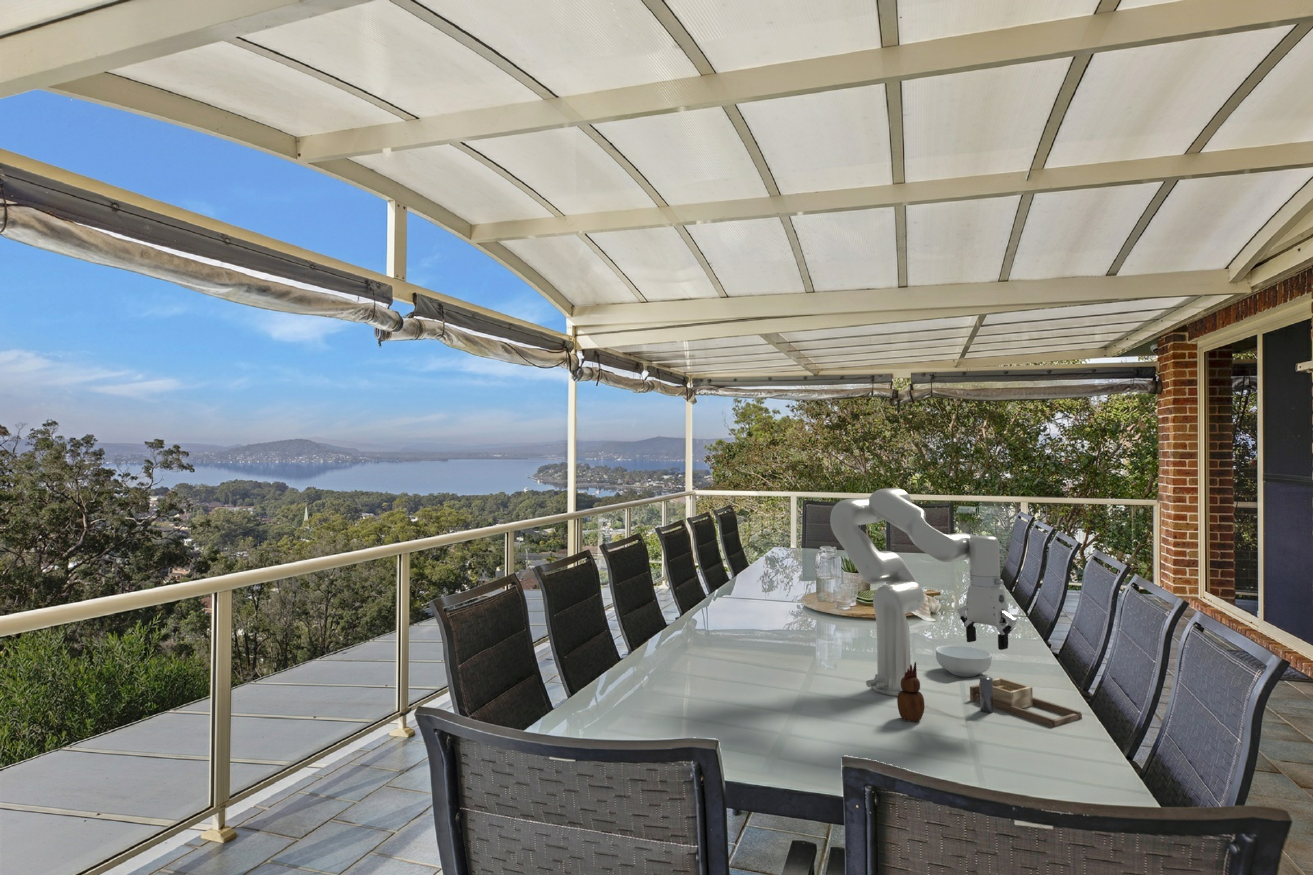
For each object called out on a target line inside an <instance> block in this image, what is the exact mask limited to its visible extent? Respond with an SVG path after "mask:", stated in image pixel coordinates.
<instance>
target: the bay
mask: <svg viewBox="0 0 1313 875" xmlns="http://www.w3.org/2000/svg"><path fill="white" fill-rule="evenodd" d="M969 701H971V702H976V703H978V704H980V695H979V684H975V685H972V686H969ZM1033 706H1034V707H1037V708H1040V709H1044V710H1047V711H1050V712H1054V713H1056V714H1060V715H1064V716H1061V717H1057V718H1053V717H1048V716H1046V715H1042V714H1039V713H1036V712H1034V711H1031V710H1027V709H1025V708H1022V709H1021V708H1018V707H1015V706H1012V705H1009V704H1006V703H1003V702H1000V701H997V700H994V699H993V709H996V710H999V711H1002V712H1005V713H1008V714H1012V715H1015V716H1017V717H1021V718H1023V719H1027V720H1030V721H1032V722H1035V723H1039V724H1042V725H1044V726H1046V727H1048V728H1055V727H1058V726H1062V725H1065V724H1069V723H1072V722H1075V721H1079V720H1082V719H1083V713H1082V712H1081V711H1080V710H1076V709H1073V708H1070V707H1066V706H1063V705H1060V704H1057V703H1053V702H1050V701H1048V700H1047V701H1046V700H1043V699H1041V698H1040V699H1039V698H1036V697H1035V696H1033Z"/></svg>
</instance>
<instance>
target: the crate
mask: <svg viewBox="0 0 1313 875" xmlns="http://www.w3.org/2000/svg"><path fill="white" fill-rule="evenodd" d="M978 685H979V695H980V682H978ZM1033 694H1034V693H1033V686H1029V685H1026V684H1022V683H1019V682H1016V681H1012V680H1009V679H1005V678H1002V677H998V678H994V679H993V699H994V700H997V701H1000V702H1003V703H1006V704H1009V705H1012V706H1015V707H1018V708H1021V709H1025V708H1029V707H1033V706H1034V705H1033V697H1034V696H1033Z"/></svg>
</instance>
